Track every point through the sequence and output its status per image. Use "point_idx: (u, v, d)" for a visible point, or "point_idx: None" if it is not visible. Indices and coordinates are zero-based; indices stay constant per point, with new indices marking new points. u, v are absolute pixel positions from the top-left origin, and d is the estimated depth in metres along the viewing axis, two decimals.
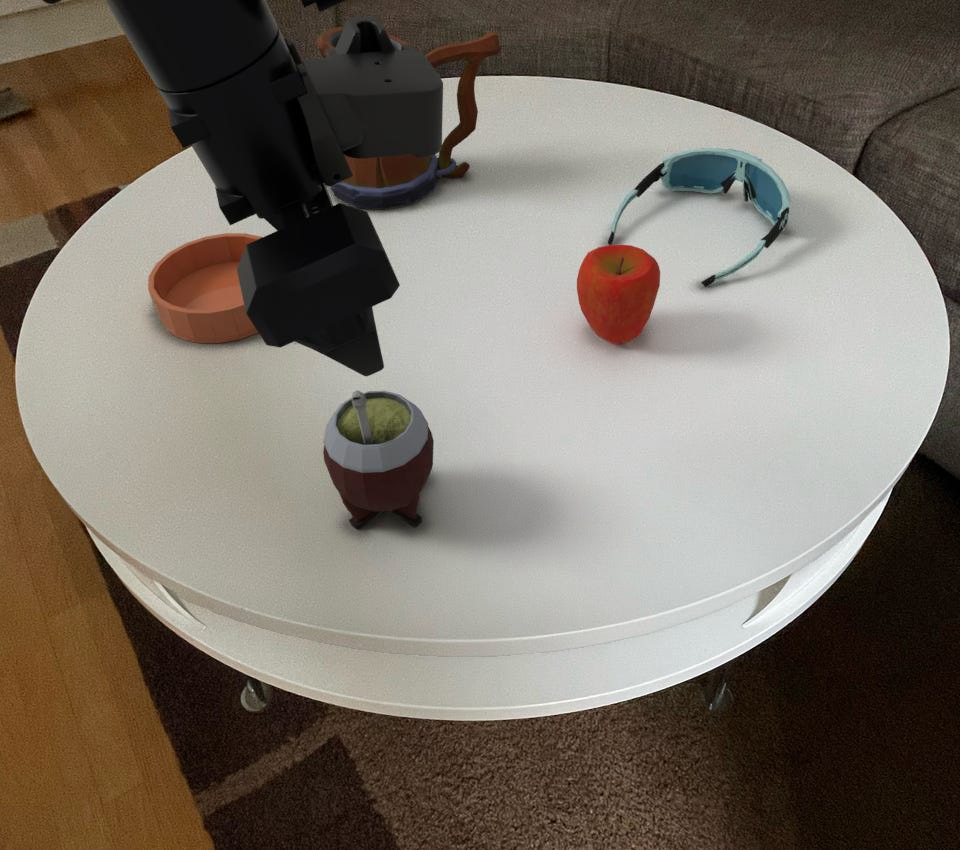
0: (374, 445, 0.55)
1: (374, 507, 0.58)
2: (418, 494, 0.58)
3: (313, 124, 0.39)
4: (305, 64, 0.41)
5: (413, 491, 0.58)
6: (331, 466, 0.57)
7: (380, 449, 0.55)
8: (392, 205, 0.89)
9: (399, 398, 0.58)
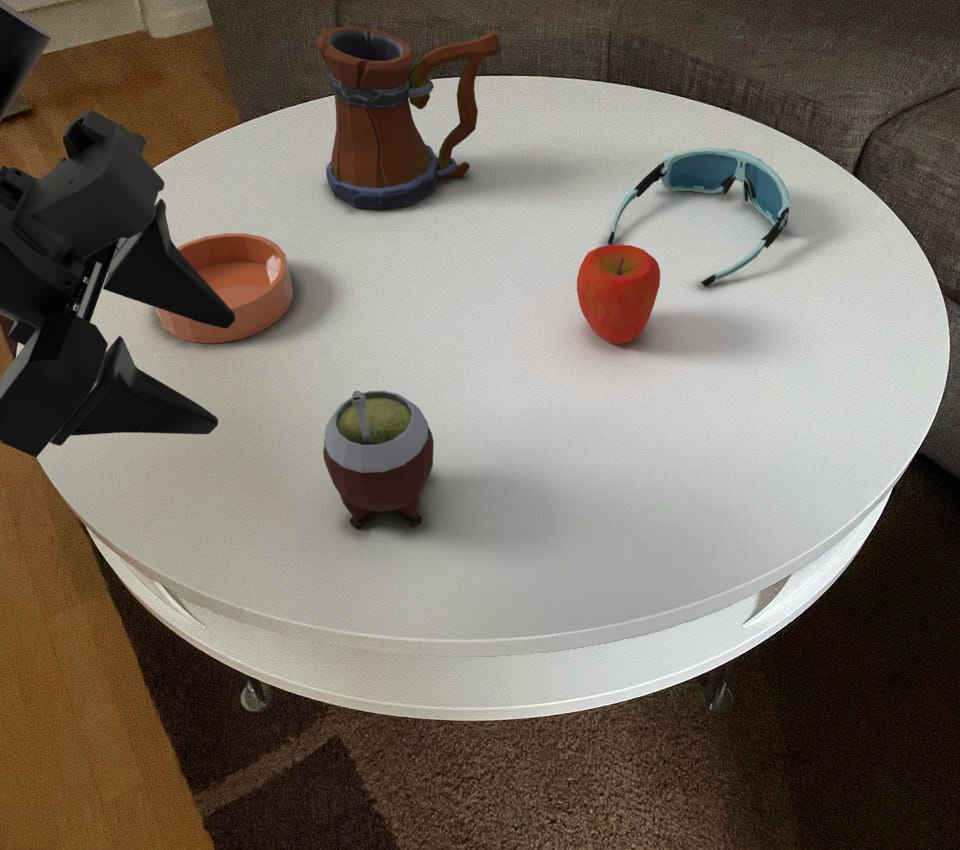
0: (374, 445, 0.55)
1: (374, 507, 0.58)
2: (418, 494, 0.58)
3: (16, 251, 0.43)
4: (31, 187, 0.45)
5: (413, 491, 0.58)
6: (331, 466, 0.57)
7: (380, 449, 0.55)
8: (392, 205, 0.89)
9: (399, 398, 0.58)
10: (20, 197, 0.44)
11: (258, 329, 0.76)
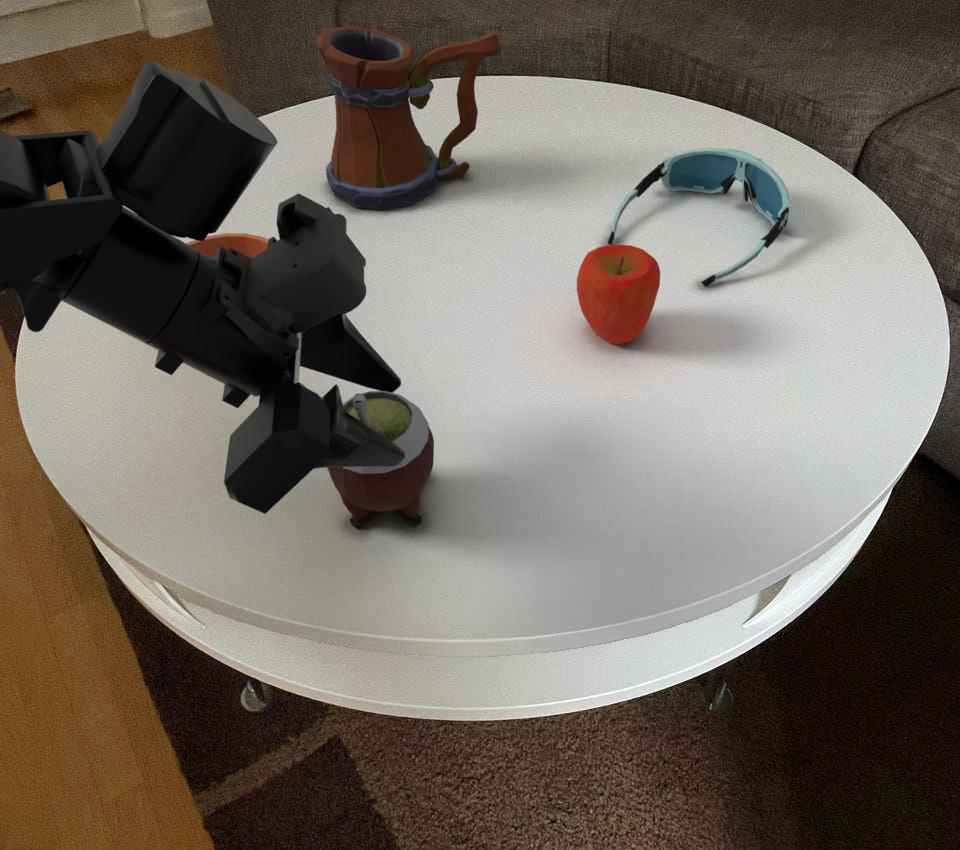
0: None
1: (374, 507, 0.58)
2: (418, 494, 0.58)
3: (245, 328, 0.47)
4: (247, 265, 0.49)
5: (414, 492, 0.58)
6: None
7: None
8: (392, 205, 0.89)
9: (400, 398, 0.58)
10: (240, 276, 0.49)
11: None
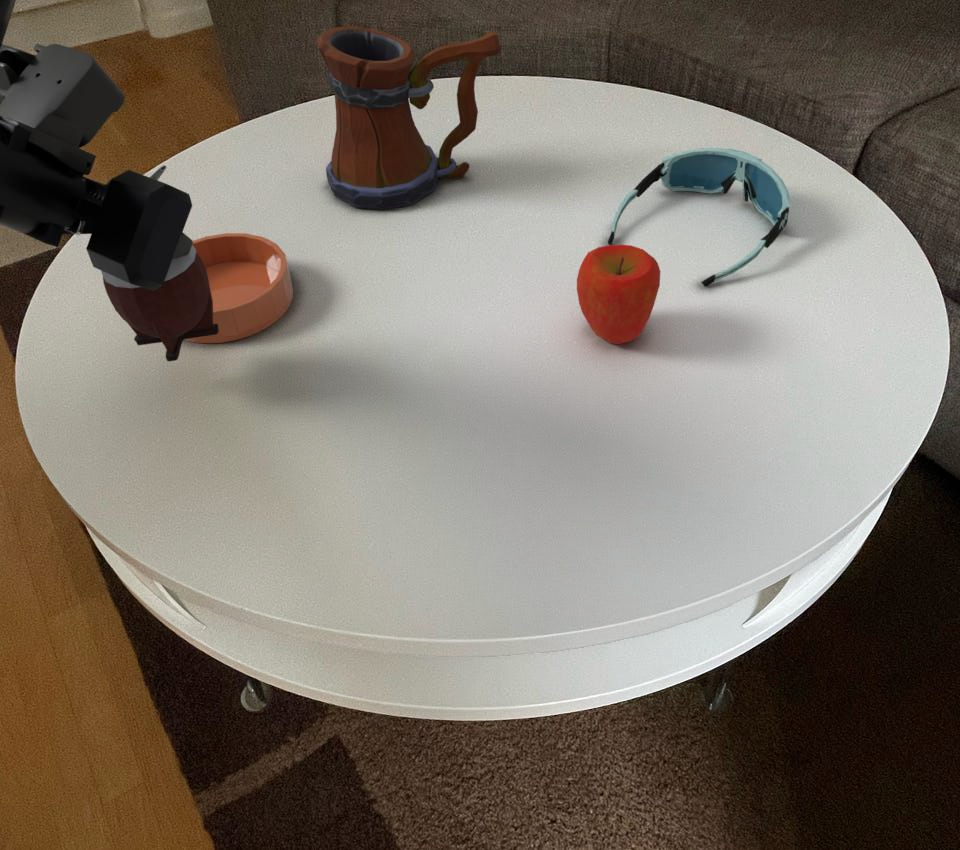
0: None
1: (186, 318, 0.65)
2: (210, 293, 0.67)
3: (50, 147, 0.52)
4: None
5: (208, 289, 0.67)
6: (137, 296, 0.63)
7: None
8: (392, 205, 0.89)
9: None
10: (4, 120, 0.53)
11: (258, 329, 0.76)
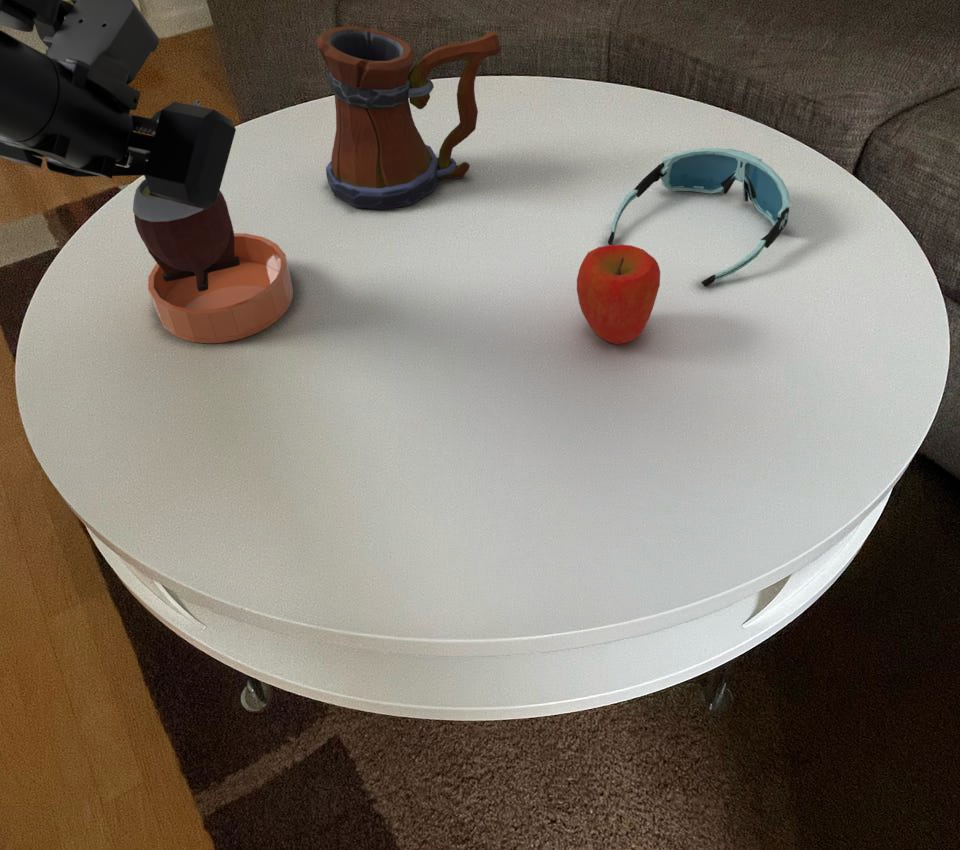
0: None
1: (215, 249, 0.71)
2: (232, 226, 0.73)
3: (105, 83, 0.58)
4: (50, 58, 0.58)
5: (230, 221, 0.72)
6: (172, 229, 0.68)
7: None
8: (392, 205, 0.89)
9: None
10: None
11: (258, 329, 0.76)
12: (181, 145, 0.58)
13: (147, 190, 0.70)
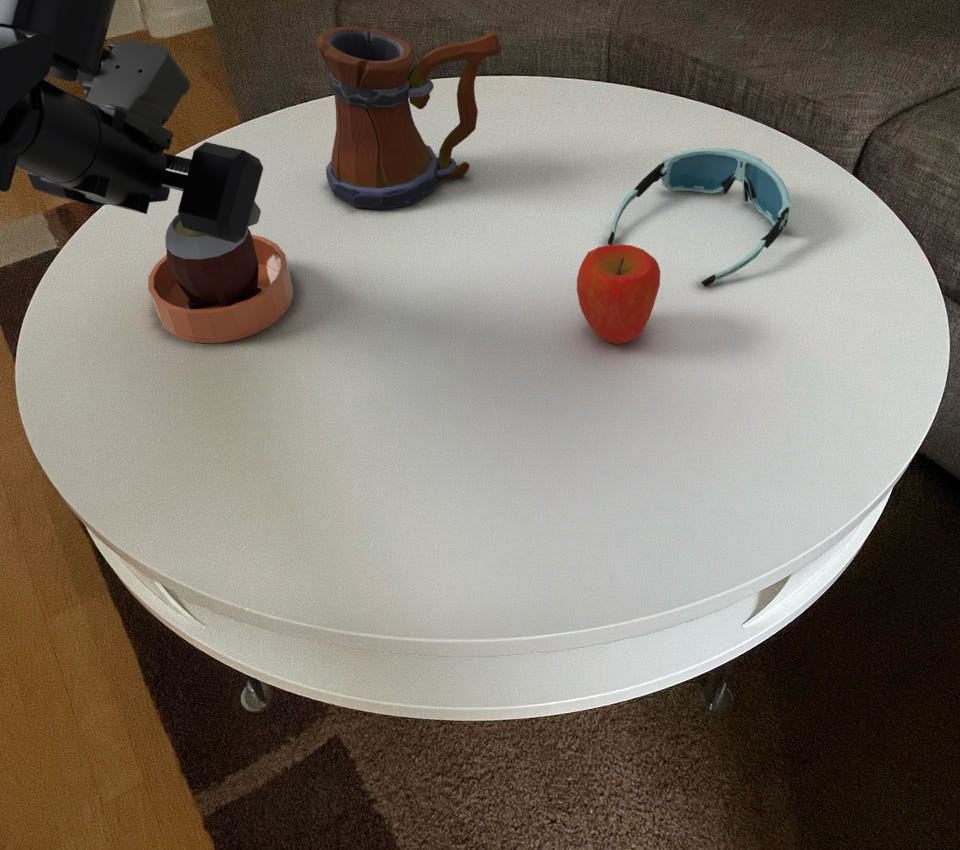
0: None
1: (242, 283, 0.75)
2: (257, 261, 0.77)
3: (141, 126, 0.62)
4: (90, 102, 0.62)
5: (256, 257, 0.76)
6: (204, 266, 0.72)
7: None
8: (392, 205, 0.89)
9: None
10: None
11: (258, 329, 0.76)
12: (213, 184, 0.62)
13: (180, 226, 0.73)
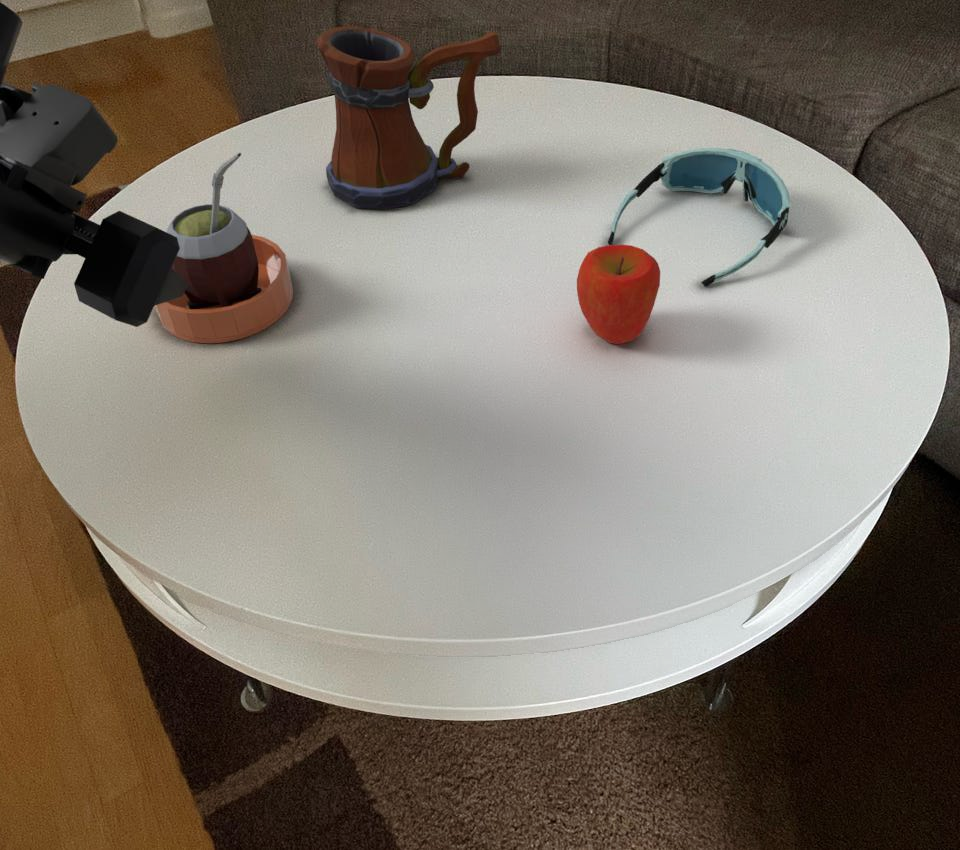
0: (226, 226, 0.72)
1: (242, 283, 0.75)
2: (257, 261, 0.77)
3: (45, 186, 0.54)
4: None
5: (256, 257, 0.76)
6: (204, 266, 0.72)
7: (232, 226, 0.73)
8: (392, 205, 0.89)
9: (199, 207, 0.75)
10: (0, 156, 0.55)
11: (258, 329, 0.76)
12: (115, 261, 0.55)
13: (180, 227, 0.73)
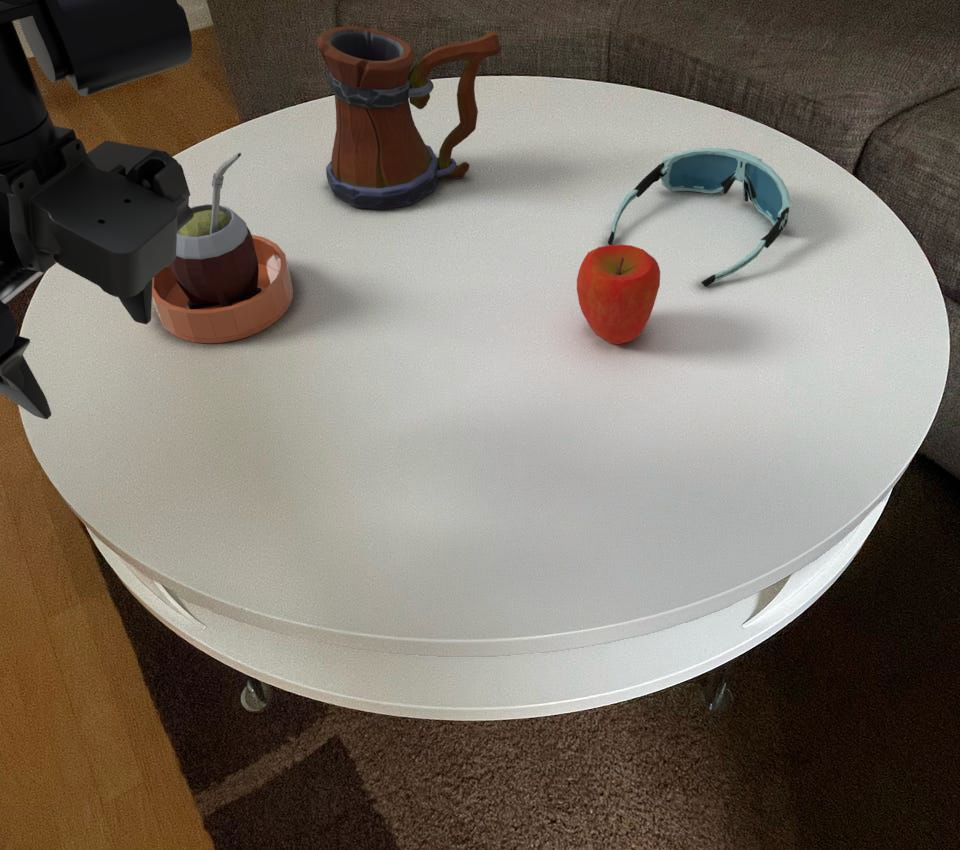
0: (226, 226, 0.72)
1: (242, 283, 0.75)
2: (257, 261, 0.77)
3: (13, 219, 0.44)
4: (77, 166, 0.46)
5: (256, 257, 0.76)
6: (204, 266, 0.72)
7: (232, 226, 0.73)
8: (392, 205, 0.89)
9: (199, 207, 0.75)
10: (60, 171, 0.45)
11: (258, 329, 0.76)
12: None
13: None
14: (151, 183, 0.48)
